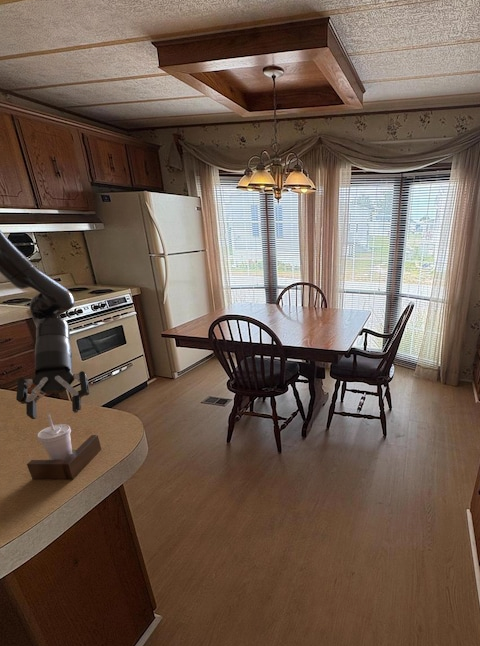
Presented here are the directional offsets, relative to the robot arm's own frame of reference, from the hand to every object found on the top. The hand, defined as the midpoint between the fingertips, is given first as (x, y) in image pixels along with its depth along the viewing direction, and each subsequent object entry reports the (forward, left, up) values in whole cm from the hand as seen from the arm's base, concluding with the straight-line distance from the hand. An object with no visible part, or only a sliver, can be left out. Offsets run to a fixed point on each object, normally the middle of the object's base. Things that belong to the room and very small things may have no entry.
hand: (54, 414), depth 84 cm
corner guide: (+2, -4, -12) cm, 13 cm away
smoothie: (+2, -4, -12) cm, 13 cm away
